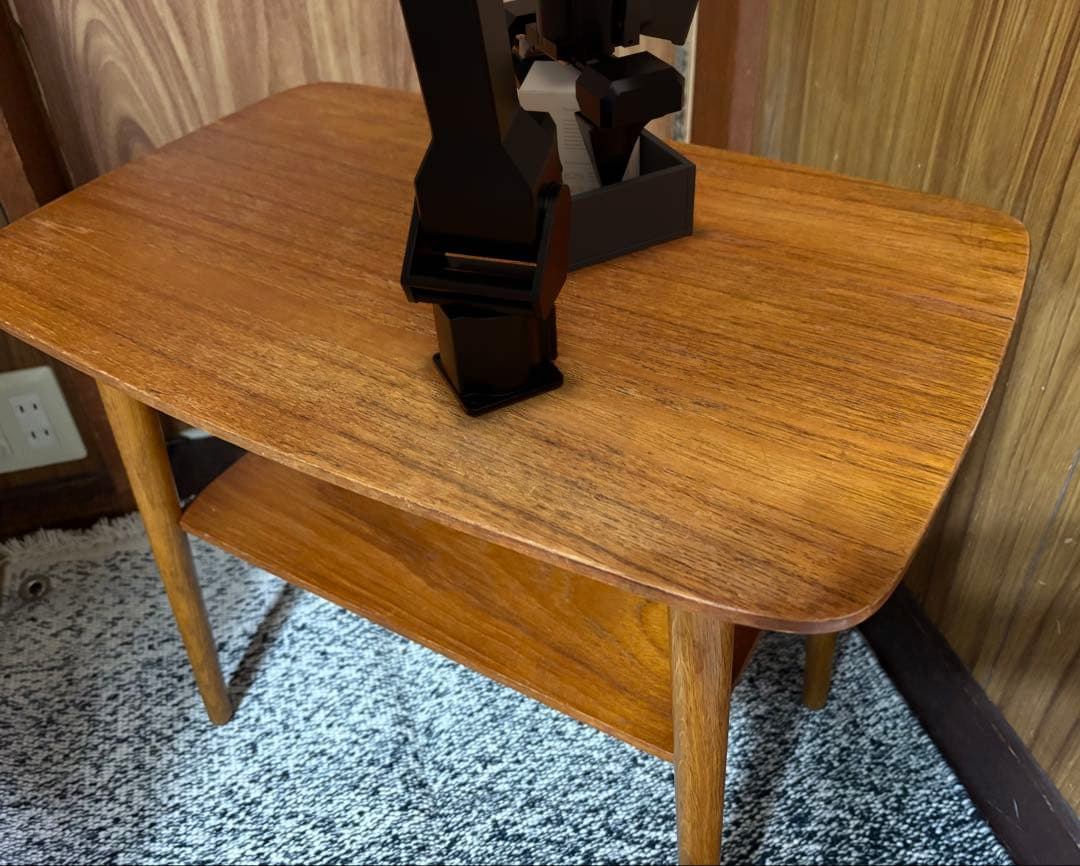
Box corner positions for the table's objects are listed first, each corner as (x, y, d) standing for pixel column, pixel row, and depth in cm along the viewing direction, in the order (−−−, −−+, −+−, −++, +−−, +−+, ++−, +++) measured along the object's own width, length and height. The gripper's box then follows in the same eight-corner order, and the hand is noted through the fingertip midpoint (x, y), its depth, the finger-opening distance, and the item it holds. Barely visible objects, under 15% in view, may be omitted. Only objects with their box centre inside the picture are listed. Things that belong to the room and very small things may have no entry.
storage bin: (556, 276, 70) (553, 205, 66) (482, 199, 79) (476, 133, 76) (693, 234, 73) (696, 164, 70) (606, 164, 83) (606, 100, 79)
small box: (640, 194, 77) (642, 60, 70) (631, 230, 73) (632, 92, 66) (540, 189, 79) (533, 58, 72) (526, 224, 75) (516, 88, 68)
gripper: (765, -42, 59) (743, 193, 70) (615, -104, 72) (615, 103, 83) (602, -7, 56) (605, 234, 66) (476, -78, 69) (494, 133, 79)
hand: (582, 169), depth 74 cm, fingers closed on small box, 8 cm apart
